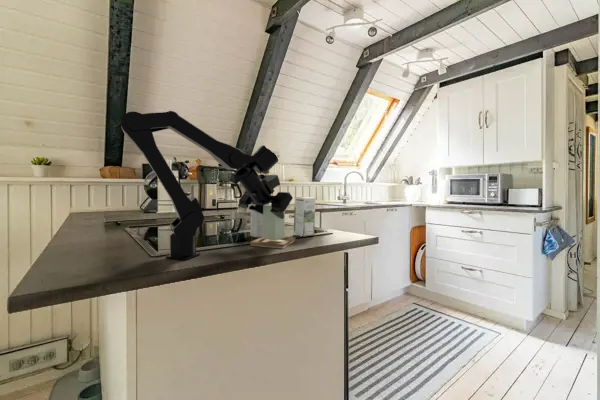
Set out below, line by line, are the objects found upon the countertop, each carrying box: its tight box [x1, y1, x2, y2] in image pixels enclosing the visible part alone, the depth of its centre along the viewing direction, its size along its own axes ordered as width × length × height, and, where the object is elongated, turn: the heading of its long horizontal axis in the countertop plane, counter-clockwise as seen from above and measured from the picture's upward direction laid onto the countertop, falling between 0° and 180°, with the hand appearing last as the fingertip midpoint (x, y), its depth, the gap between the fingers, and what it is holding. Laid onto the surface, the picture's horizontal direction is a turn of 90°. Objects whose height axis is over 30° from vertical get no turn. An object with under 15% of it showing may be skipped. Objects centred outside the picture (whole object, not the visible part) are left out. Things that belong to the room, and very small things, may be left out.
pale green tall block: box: [263, 204, 286, 241], centre depth 98 cm, size 5×5×11 cm
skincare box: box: [250, 203, 271, 238], centre depth 110 cm, size 6×4×12 cm
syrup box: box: [293, 196, 316, 238], centre depth 112 cm, size 6×6×14 cm
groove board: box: [250, 236, 296, 249], centre depth 98 cm, size 12×11×1 cm
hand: (276, 217), depth 99 cm, fingers open, 5 cm apart
